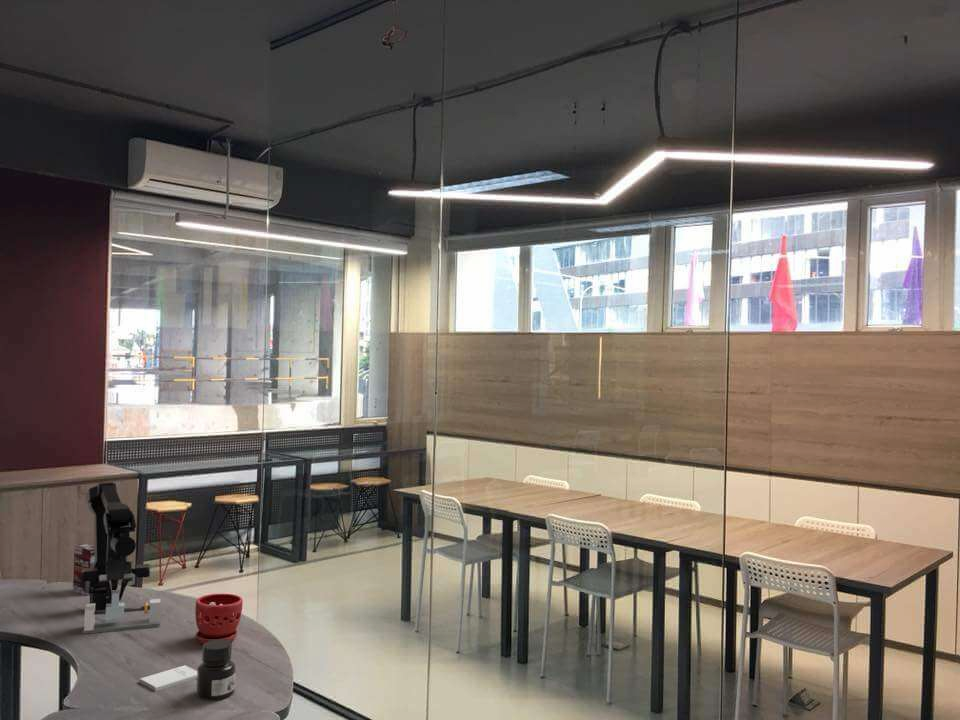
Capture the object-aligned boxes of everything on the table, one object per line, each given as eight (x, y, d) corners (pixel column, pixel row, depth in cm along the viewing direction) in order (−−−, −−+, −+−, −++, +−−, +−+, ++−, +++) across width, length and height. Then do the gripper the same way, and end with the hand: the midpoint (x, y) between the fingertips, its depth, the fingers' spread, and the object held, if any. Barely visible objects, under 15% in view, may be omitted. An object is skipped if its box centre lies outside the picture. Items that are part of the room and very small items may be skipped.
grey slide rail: (82, 634, 228) (83, 610, 228) (84, 626, 235) (85, 603, 235) (159, 626, 236) (160, 603, 236) (159, 619, 243) (160, 597, 243)
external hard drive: (138, 684, 195) (184, 670, 205) (155, 693, 190) (201, 678, 200) (138, 678, 195) (184, 664, 205) (155, 687, 190) (201, 672, 200)
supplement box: (71, 591, 269) (73, 546, 270) (84, 588, 274) (86, 543, 274) (88, 595, 265) (89, 549, 266) (100, 592, 270) (102, 546, 270)
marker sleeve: (105, 619, 232) (106, 594, 232) (106, 615, 235) (106, 590, 235) (123, 617, 234) (124, 592, 234) (124, 614, 237) (124, 589, 237)
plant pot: (214, 650, 218) (215, 608, 218) (184, 641, 225) (186, 599, 225) (250, 637, 229) (252, 597, 229) (221, 628, 236) (222, 589, 236)
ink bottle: (219, 704, 184) (221, 653, 184) (187, 699, 186) (189, 649, 186) (242, 688, 193) (244, 640, 193) (212, 683, 196) (213, 635, 196)
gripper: (80, 557, 224) (78, 611, 224) (150, 553, 231) (148, 605, 231) (83, 549, 234) (82, 600, 234) (150, 545, 241) (149, 595, 241)
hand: (115, 601), depth 235 cm, fingers closed on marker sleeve, 2 cm apart
